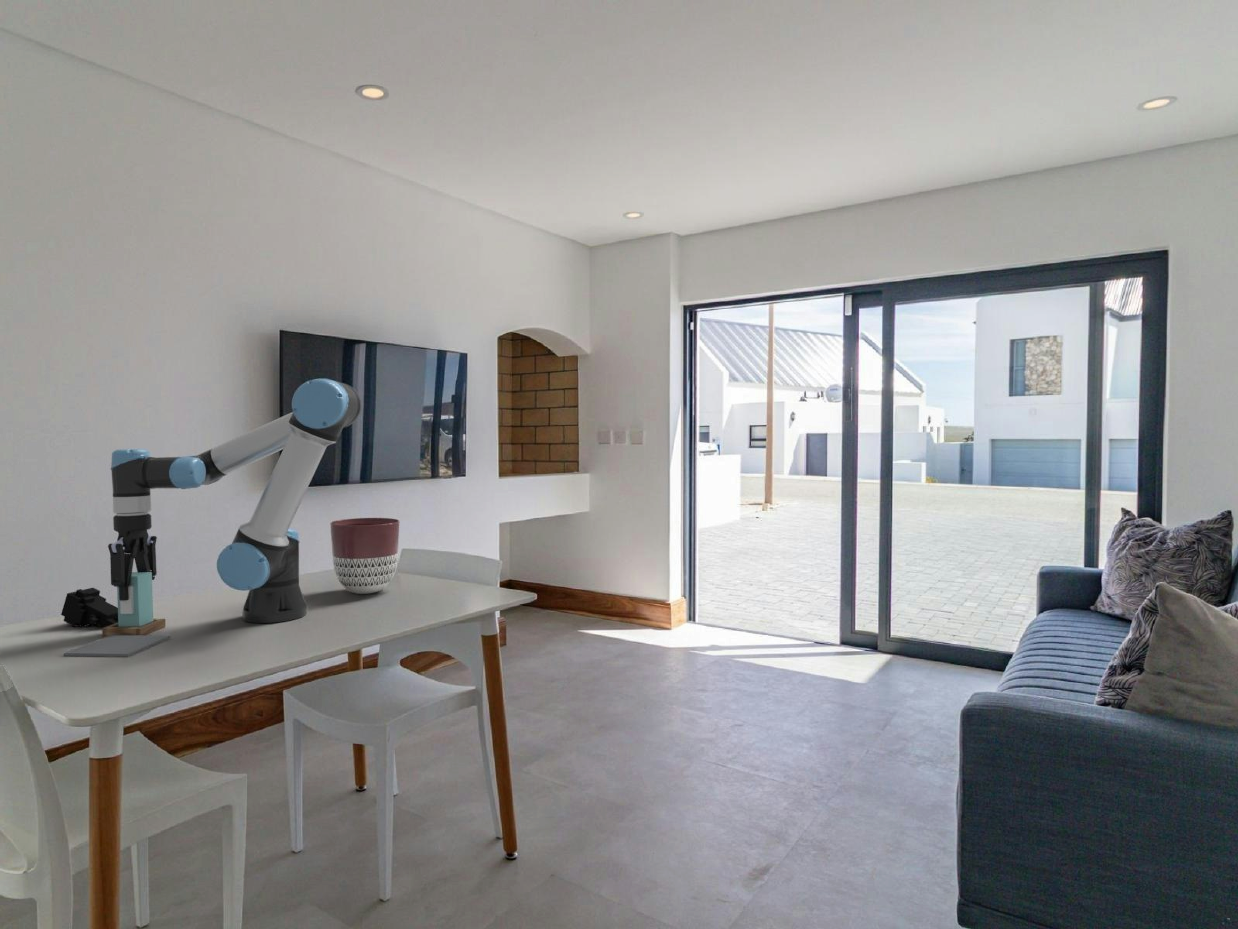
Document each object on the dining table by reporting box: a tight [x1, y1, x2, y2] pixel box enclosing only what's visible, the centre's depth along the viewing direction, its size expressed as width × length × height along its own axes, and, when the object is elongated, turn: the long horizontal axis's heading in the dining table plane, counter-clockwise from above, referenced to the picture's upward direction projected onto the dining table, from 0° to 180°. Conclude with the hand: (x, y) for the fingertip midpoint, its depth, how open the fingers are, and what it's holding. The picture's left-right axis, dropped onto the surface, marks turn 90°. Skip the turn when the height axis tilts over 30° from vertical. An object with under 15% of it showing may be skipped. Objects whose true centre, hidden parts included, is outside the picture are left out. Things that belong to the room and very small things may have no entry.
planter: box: [330, 517, 400, 595], centre depth 217 cm, size 20×20×21 cm
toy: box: [60, 587, 118, 628], centre depth 179 cm, size 9×8×15 cm
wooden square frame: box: [101, 618, 166, 638], centre depth 173 cm, size 9×9×2 cm
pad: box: [63, 634, 172, 658], centre depth 161 cm, size 14×14×1 cm
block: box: [116, 571, 154, 627], centre depth 173 cm, size 5×5×12 cm
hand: (135, 610), depth 173 cm, fingers closed on block, 5 cm apart
